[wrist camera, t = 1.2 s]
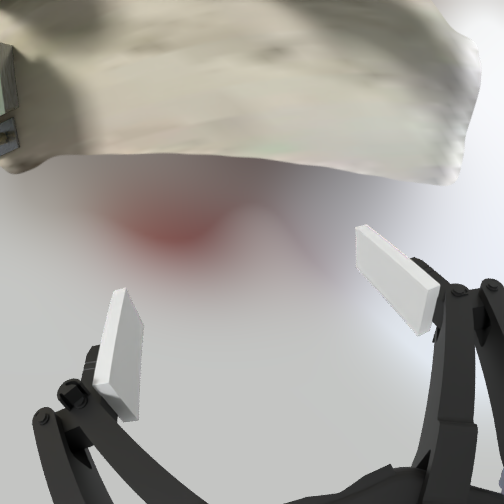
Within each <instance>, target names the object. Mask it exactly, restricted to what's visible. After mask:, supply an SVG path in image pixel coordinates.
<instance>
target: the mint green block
mask: <svg viewBox="0 0 504 504" xmlns="http://www.w3.org/2000/svg"><path fill="white" fill-rule="evenodd" d="M3 114H5V109H4V102H3V95H2V87H1V78H0V116H1V115H3Z"/></svg>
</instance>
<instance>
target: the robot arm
mask: <svg viewBox="0 0 504 504" xmlns="http://www.w3.org/2000/svg"><path fill="white" fill-rule="evenodd" d="M355 230H356V268H357V269H358V271H359V272H360V273H361V274H362V275H363V276H364V277H365V278H366V279H367V280H368V281H369V282H370V283H371V284H372V286H373V287H374V288H375V289H376V290H377V291H378V292H379V293H380V294H381V295H382V296H383V298H384V299H385V300H386V301H387V302H388V303H389V304H390V305H391V307H392V308H393V309H394V310H395V311H396V312H397V313H398V314H399V316H400V317H401V318H402V319H403V320H404V321H405V322H406V324H407V325H408V326H409V327H410V328H411V329H412V330H413V331H414V333H415V334H416V335H417V336H420V335H422V334H424V333H426V332H428V331H430V328H431V324H432V322H433V323H434V324H435V325H436V326H437V327H436V331H435V334H434V338H433V341H432V342H433V343H435V344H434V354H433V364H432V372H431V381H430V388H429V394H428V401H427V407H426V412H425V418H424V423H423V428H422V433H421V437H420V442H419V447H418V450H417V453H416V456H415V458H414V461H413V463H412V466H411V467H399V468H392V466H391V464H389V465H387V466H385V467H383V468H380V469H378V470H376V471H374V472H372V473H369V474H367V475H365V476H363V477H362V478H361V479H359V480H358V481H357V482H355V483H354V484H352V485H351V486H350V487H348V488H346V489H345V490H344V491H342V492H340V493H337V494H329V495H321V496H311V497H305V498H302V499H299V500H296V501H292V502H289V503H285V504H504V468H503V471H502V473H501V478H500V480H499V486H500V487H501V488H502V492H501V493H497V492H493V491H489V490H485V489H482V488H478V487H475V486H471V485H470V483H471V477H472V472H473V465H474V459H475V452H476V444H477V434H478V427H477V424H474V422H473V416H474V400H475V347H476V350H477V353H478V356H479V360H480V363H481V367H482V370H483V374H484V378H485V381H486V386H487V389H488V394H489V398H490V403H491V407H492V412H493V417H494V422H495V428H496V433H497V440H498V446H499V451H500V456H501V460H502V463H503V466H504V287H503V285H502V284H501V283H500V282H499V281H497V280H495V279H489V278H488V279H484V280H483V281H482V283H481V286H480V288H478V289H472V290H469V289H468V288H467V287H465V286H464V285H461V284H450V283H449V282H448V281H447V280H445V279H444V278H443V277H442V276H441V275H439V274H438V273H437V272H436V271H434V270H433V269H432V268H431V267H429V265H427V264H426V263H425V262H424V261H422V260H420V259H417V258H415V257H413V258H410V259H409V258H408V257H407V256H406V255H405V254H403V253H402V252H401V251H400V250H398V249H397V248H396V247H395V246H394V245H392V244H391V243H390V242H389V241H387V240H386V239H385V238H384V237H382V236H381V235H380V234H378V233H377V232H376V231H375V230H373V229H372V228H371V227H369V226H368V225H367V224H366V225H362V226H358V227H356V228H355ZM143 330H144V325H143V323H142V320H141V319H140V316H139V314H138V312H137V310H136V308H135V306H134V304H133V302H132V300H131V297H130V295H129V293H128V291H127V289H126V288H122V289H119V290H115V291H113V295H112V299H111V303H110V306H109V310H108V314H107V318H106V322H105V326H104V330H103V335H102V339H101V344H100V345H96V346H92V347H91V349H90V350H89V352H88V354H87V356H86V361H85V365H84V371H83V374H82V378H81V381H80V380H78V379H70V380H67V381H65V382H64V383H63V384H62V385H61V386H60V388H59V390H58V392H57V397H58V400H59V401H60V402H61V403H62V404H63V405H64V407H65V409H62V410H60V411H58V412H54V411H53V410H52V409H51V408H49V407H44V408H41V409H39V410H38V411H37V412H36V413H35V415H34V417H33V420H32V425H33V430H34V435H35V439H36V444H37V448H38V452H39V456H40V460H41V464H42V467H43V471H44V475H45V478H46V481H47V484H48V488H49V491H50V494H51V497H52V500H53V503H54V504H114V503H113V502H112V500H111V498H110V496H109V494H108V492H107V490H106V488H105V486H104V484H103V481H102V479H101V477H100V475H99V473H98V471H97V468H96V466H95V464H94V461H93V459H92V457H91V454H90V452H89V450H88V447H91V446H93V445H94V446H95V447H96V448H97V450H98V451H99V452H100V453H101V455H103V457H104V458H105V459H106V460H107V462H108V463H109V464H110V465H111V466H112V467H113V468H114V470H115V471H116V472H117V473H118V474H119V475H120V476H121V478H122V479H123V480H124V481H125V482H126V483H127V484H128V485H129V486H130V487H131V488H132V489H133V490H134V491H135V492H136V493H137V494H138V495H139V496H140V497H141V498H142V499H143V500H144V501H145V502H146V503H147V504H208V503H207V502H205V501H204V500H202V499H201V498H200V497H198V496H197V495H196V494H195V493H193V492H192V491H191V490H189V489H188V488H187V487H186V486H184V485H183V484H182V483H181V482H179V481H178V480H177V479H176V478H174V477H173V476H172V475H171V474H170V473H169V472H168V471H166V470H165V469H164V468H163V467H162V466H161V465H159V464H158V463H157V462H156V461H155V460H154V459H153V458H152V457H150V455H149V454H147V453H146V452H145V451H144V450H143V449H142V448H141V447H140V446H139V445H138V444H137V443H136V442H135V441H134V440H133V439H132V438H131V437H130V436H129V435H128V434H127V433H126V432H125V431H124V430H123V429H122V428H121V427H120V426H119V425H118V424H117V417H119V418H120V419H121V420H122V421H123V422H130V421H137V420H139V392H140V370H141V356H142V342H143Z"/></svg>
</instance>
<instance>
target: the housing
mask: <svg viewBox="0 0 504 504" xmlns="http://www.w3.org/2000/svg"><path fill="white" fill-rule="evenodd" d="M0 78H1V87H2V95H3V102H4V109H5V113H7V112H9V111H11V110H13V109H15V108H17V107H19V103H18V97H17V89H16V81H15V72H14V62H13V48H12V45H8V44H4V43H0ZM1 132H3V133H5V134H6V137H7V139H6V142H5V143H4V144H3V145H0V156H1V155H3V154H6V153H8V152H10V151H12V150H14V149H16V148H19V147H20V145H19V141H18V136H17V131H16V126H15V120H14V117H13V118H10V119H8V120H6V121H4V122H2V123H0V133H1Z"/></svg>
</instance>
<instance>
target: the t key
mask: <svg viewBox="0 0 504 504" xmlns="http://www.w3.org/2000/svg"><path fill="white" fill-rule="evenodd" d="M6 139H7V137H6V134H5V133H3V132H1V133H0V145H3V144H4V143H5V142H6Z"/></svg>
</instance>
